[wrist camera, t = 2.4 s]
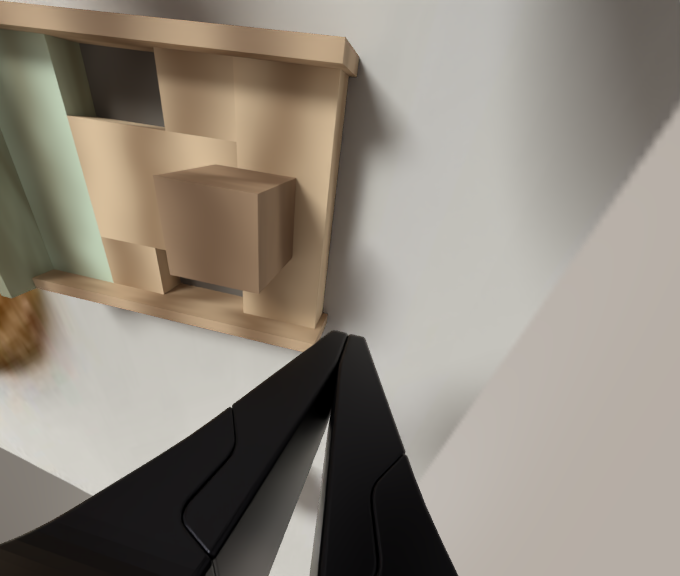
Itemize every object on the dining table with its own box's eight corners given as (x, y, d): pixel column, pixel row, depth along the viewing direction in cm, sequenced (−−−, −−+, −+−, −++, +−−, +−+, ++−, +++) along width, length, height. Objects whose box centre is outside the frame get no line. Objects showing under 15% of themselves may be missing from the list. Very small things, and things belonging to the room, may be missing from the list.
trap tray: (359, 56, 14) (336, 25, 10) (326, 323, 22) (305, 371, 17) (-12, 15, 17) (-159, -25, 12) (74, 266, 24) (1, 295, 20)
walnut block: (296, 177, 15) (257, 194, 12) (292, 257, 18) (258, 294, 14) (215, 164, 16) (152, 175, 12) (221, 243, 18) (169, 274, 14)
